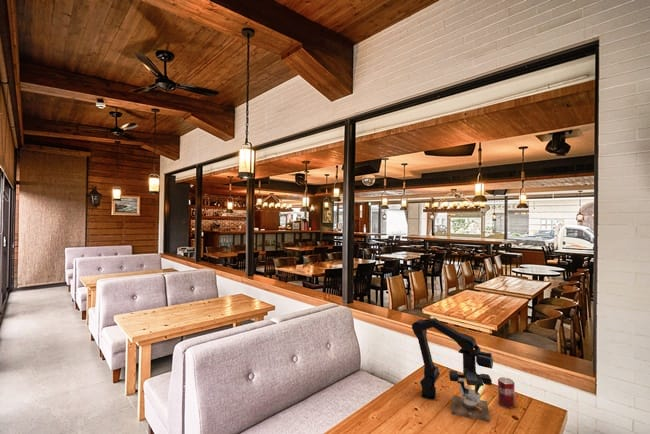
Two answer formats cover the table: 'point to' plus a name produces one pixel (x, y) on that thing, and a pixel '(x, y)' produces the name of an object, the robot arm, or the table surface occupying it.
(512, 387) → the soda can
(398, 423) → the table surface
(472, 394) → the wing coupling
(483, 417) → the post base
